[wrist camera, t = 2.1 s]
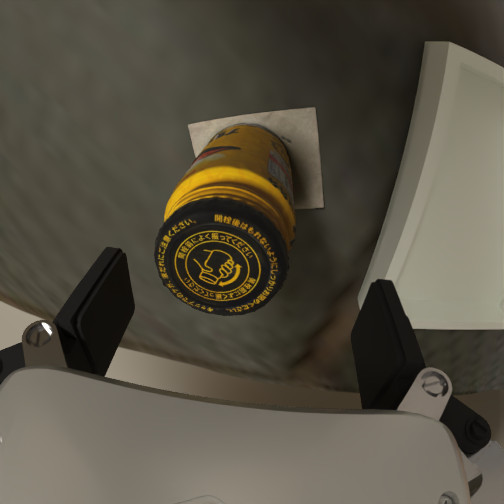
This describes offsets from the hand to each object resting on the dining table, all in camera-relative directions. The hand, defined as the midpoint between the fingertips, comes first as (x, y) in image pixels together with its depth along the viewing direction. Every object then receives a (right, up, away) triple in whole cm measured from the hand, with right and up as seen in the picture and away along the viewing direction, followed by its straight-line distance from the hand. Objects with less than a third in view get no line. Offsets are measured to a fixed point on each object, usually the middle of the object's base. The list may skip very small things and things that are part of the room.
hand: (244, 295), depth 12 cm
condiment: (+1, +8, +10) cm, 13 cm away
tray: (+20, +5, +10) cm, 23 cm away
